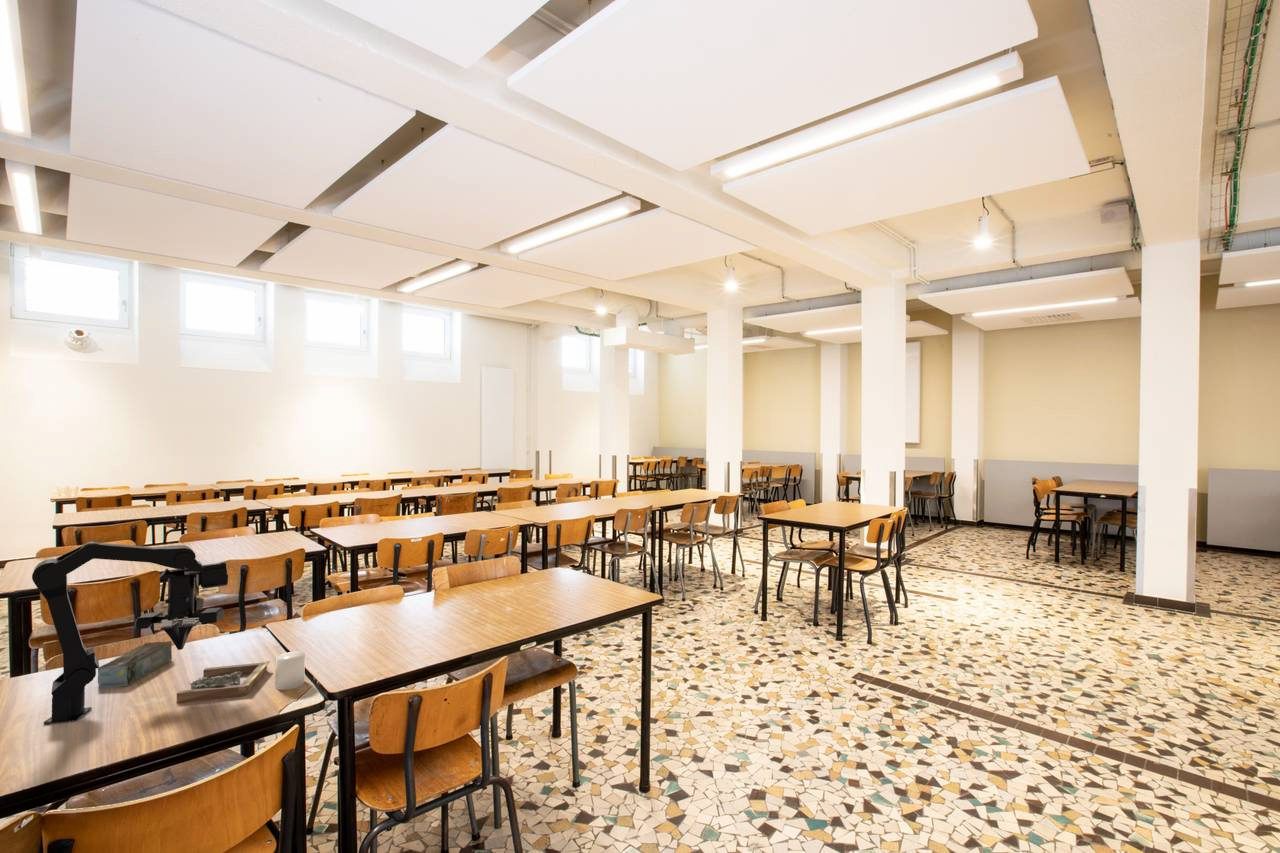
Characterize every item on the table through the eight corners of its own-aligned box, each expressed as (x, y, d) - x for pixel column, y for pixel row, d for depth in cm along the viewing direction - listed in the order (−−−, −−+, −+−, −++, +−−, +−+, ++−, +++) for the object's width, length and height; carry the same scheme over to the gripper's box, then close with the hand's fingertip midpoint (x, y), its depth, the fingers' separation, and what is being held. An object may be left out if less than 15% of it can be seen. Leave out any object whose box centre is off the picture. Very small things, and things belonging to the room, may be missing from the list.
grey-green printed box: (95, 689, 158) (95, 665, 158) (145, 662, 177) (145, 640, 177) (127, 687, 159) (127, 663, 159) (173, 660, 178) (173, 639, 178)
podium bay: (248, 695, 154) (248, 684, 154) (176, 703, 150) (176, 692, 150) (269, 670, 171) (269, 660, 171) (205, 676, 166) (205, 666, 166)
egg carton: (244, 685, 161) (244, 670, 161) (225, 697, 153) (226, 682, 153) (205, 685, 160) (206, 670, 161) (185, 697, 153) (185, 682, 153)
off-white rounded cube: (300, 688, 159) (300, 659, 159) (271, 691, 157) (271, 662, 157) (307, 678, 165) (307, 650, 165) (279, 680, 163) (280, 652, 163)
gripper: (232, 582, 168) (231, 635, 168) (156, 587, 163) (155, 642, 162) (215, 592, 157) (215, 649, 157) (133, 598, 152) (133, 657, 152)
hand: (180, 649), depth 157 cm, fingers closed
